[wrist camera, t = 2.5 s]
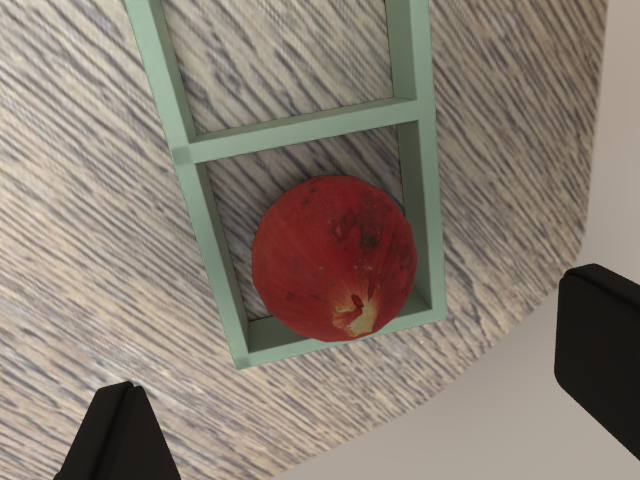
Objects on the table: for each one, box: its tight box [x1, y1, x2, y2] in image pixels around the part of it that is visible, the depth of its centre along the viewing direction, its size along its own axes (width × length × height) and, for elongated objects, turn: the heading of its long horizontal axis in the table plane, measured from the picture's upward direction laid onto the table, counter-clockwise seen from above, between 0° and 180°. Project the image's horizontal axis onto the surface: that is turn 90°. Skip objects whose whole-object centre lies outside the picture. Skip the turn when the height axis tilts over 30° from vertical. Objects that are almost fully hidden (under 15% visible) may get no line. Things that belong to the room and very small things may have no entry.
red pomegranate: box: [252, 175, 417, 343], centre depth 15 cm, size 6×6×8 cm
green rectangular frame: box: [124, 0, 448, 370], centre depth 16 cm, size 9×18×2 cm, turn 10°
